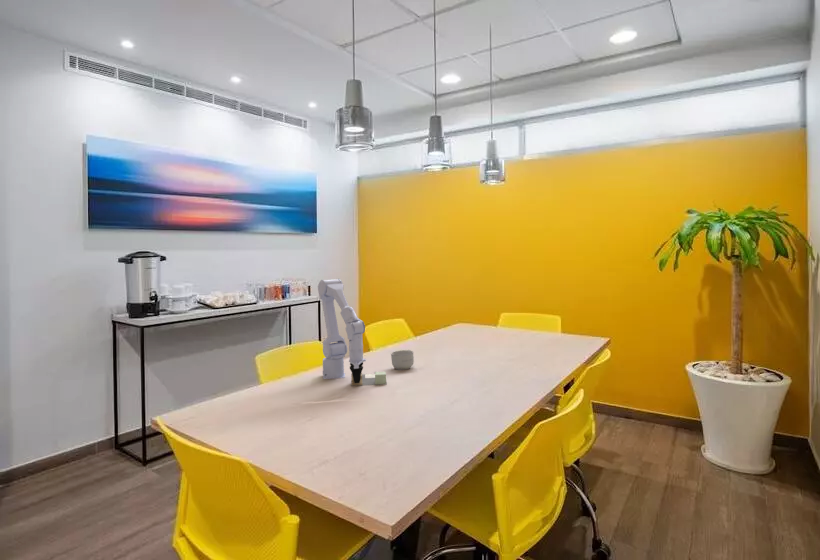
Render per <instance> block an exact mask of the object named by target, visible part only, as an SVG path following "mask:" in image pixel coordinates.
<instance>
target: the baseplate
mask: <svg viewBox="0 0 820 560" xmlns="http://www.w3.org/2000/svg"><path fill="white" fill-rule="evenodd" d="M387 384H388V382H387V381H386V384H385V385H387ZM380 385H382V386H383V385H384V384H375V373H368V374H367V373H366V374H364V373H362V385H352V380H350V386H351V387H360V386H361V387H363V386H380Z"/></svg>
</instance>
